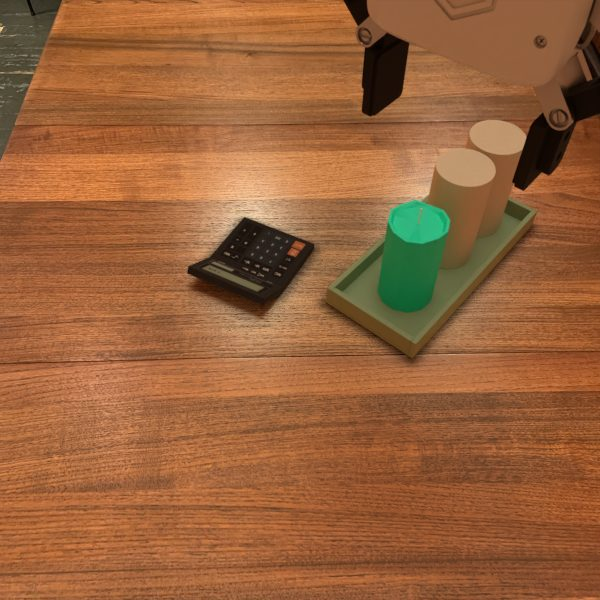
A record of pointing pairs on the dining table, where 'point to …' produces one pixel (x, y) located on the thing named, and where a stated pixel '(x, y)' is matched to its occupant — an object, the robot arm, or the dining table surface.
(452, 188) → the cream candle
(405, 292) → the candle
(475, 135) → the cream candle
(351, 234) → the dining table surface
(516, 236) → the tray
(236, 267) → the calculator
